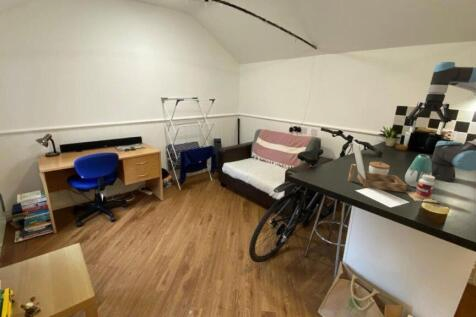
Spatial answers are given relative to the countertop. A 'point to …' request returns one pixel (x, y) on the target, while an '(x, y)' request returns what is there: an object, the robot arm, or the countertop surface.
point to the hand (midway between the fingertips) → (424, 133)
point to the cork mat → (412, 194)
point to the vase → (418, 170)
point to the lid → (359, 159)
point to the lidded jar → (378, 168)
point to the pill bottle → (425, 187)
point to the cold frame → (379, 181)
